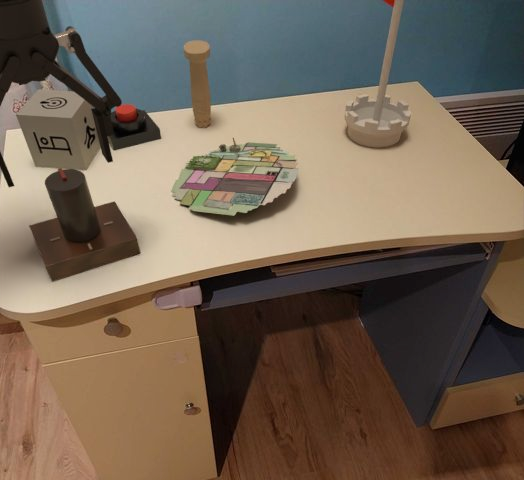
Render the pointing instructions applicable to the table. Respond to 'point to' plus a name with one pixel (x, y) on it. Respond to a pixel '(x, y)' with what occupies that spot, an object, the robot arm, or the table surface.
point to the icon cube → (59, 130)
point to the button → (126, 112)
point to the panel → (85, 244)
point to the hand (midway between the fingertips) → (60, 169)
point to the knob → (73, 205)
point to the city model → (235, 178)
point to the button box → (133, 131)
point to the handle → (199, 80)
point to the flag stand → (379, 102)
